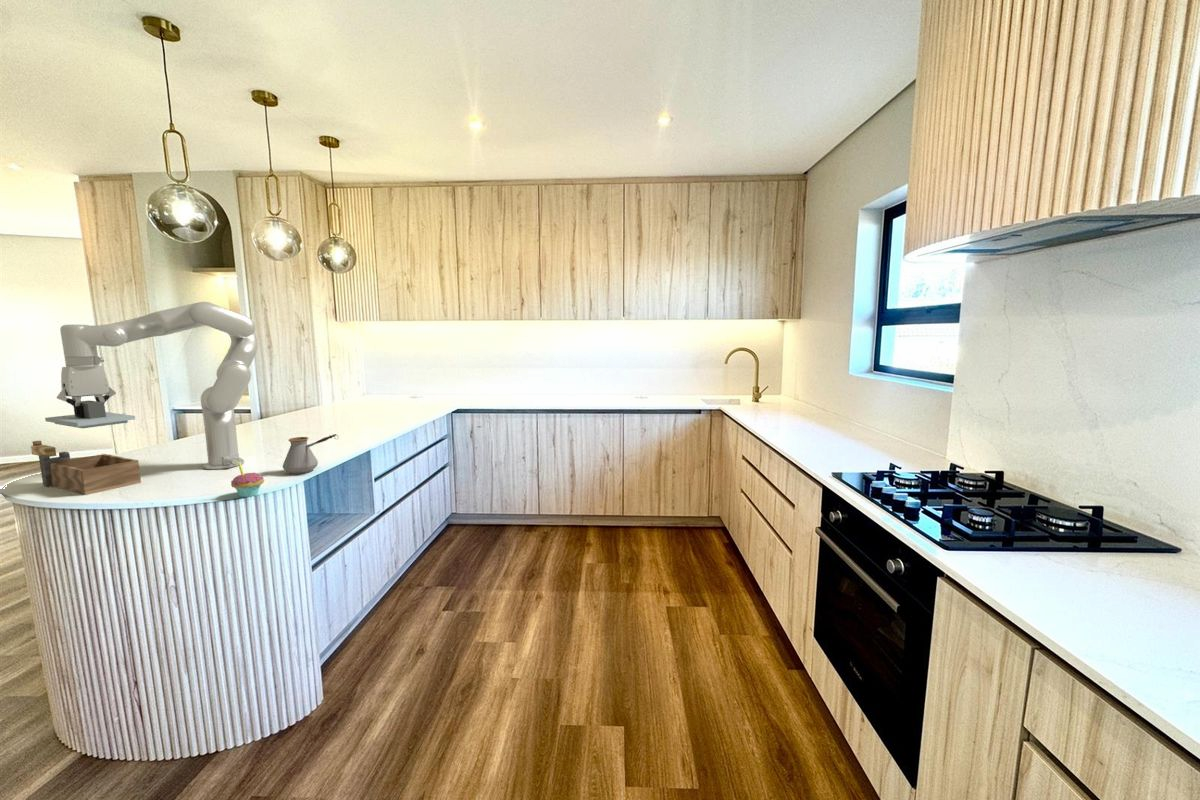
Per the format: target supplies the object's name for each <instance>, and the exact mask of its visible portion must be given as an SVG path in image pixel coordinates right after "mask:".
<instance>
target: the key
mask: <svg viewBox="0 0 1200 800" xmlns="http://www.w3.org/2000/svg"><path fill="white" fill-rule="evenodd" d="M30 449H31V454H32V455H34V456H38V457H39V456H40V455H49V456H50V458H52V457H55V456H57V451H56V449H57V448H56V447H55V446H51V445H45V444H43V442H42V440H34V441H32V445H30Z"/></svg>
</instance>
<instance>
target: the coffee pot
mask: <svg viewBox="0 0 1200 800" xmlns="http://www.w3.org/2000/svg"><path fill="white" fill-rule="evenodd" d="M336 436H337V439H339V435H338V434H336V433H334V434H332V435H328V436H326V437H323V438H321V439H319V440H317V441H315V442H312V443H310V444H308V440H309V436H308V437H307V436H298V437H291V438H289V439H288V442H289V443H290V446H289V448H288V451H287V453H286V456H285V459H284V461H283V465H282V468H283V470H284V471H285V472H287V473H289V474H290V473H292V474H291V475H303V474H304V475H305V474H308V473H311V472H313V471H314V469H316V468H317V467H318V464H319V461H318V459H317V457H316V455H314V453H313V451H312V449H311V447H312V446H314V445H318V444H320V443H323V442H327V441H328V440H330V439H332V438H334V439H336Z"/></svg>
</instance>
